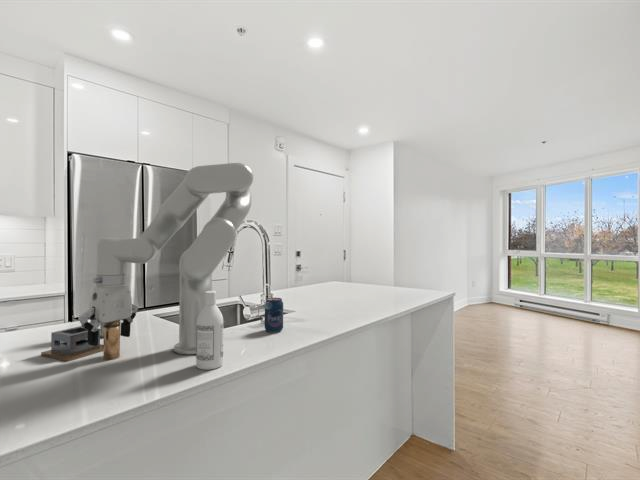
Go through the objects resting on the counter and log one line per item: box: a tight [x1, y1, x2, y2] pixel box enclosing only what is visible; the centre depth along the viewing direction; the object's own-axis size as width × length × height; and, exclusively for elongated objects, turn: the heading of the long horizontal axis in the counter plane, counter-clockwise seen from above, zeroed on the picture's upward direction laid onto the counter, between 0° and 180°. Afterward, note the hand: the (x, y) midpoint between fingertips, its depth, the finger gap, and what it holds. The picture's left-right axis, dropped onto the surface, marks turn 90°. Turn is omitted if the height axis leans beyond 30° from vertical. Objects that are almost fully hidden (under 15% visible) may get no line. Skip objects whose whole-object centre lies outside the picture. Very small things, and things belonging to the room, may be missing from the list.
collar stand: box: [40, 325, 104, 362], centre depth 102 cm, size 12×12×6 cm
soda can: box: [264, 297, 284, 334], centre depth 128 cm, size 7×7×12 cm
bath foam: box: [195, 290, 224, 371], centre depth 92 cm, size 7×7×20 cm
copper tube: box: [102, 320, 121, 361], centre depth 97 cm, size 4×4×11 cm
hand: (109, 340), depth 97 cm, fingers open, 9 cm apart
